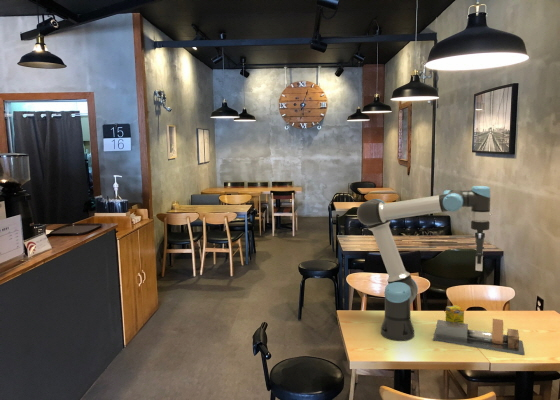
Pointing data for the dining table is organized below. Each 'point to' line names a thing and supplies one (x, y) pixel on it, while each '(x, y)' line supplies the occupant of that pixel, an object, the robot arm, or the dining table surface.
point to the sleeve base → (458, 335)
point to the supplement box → (455, 314)
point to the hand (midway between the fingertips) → (479, 266)
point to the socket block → (513, 338)
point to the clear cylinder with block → (495, 336)
